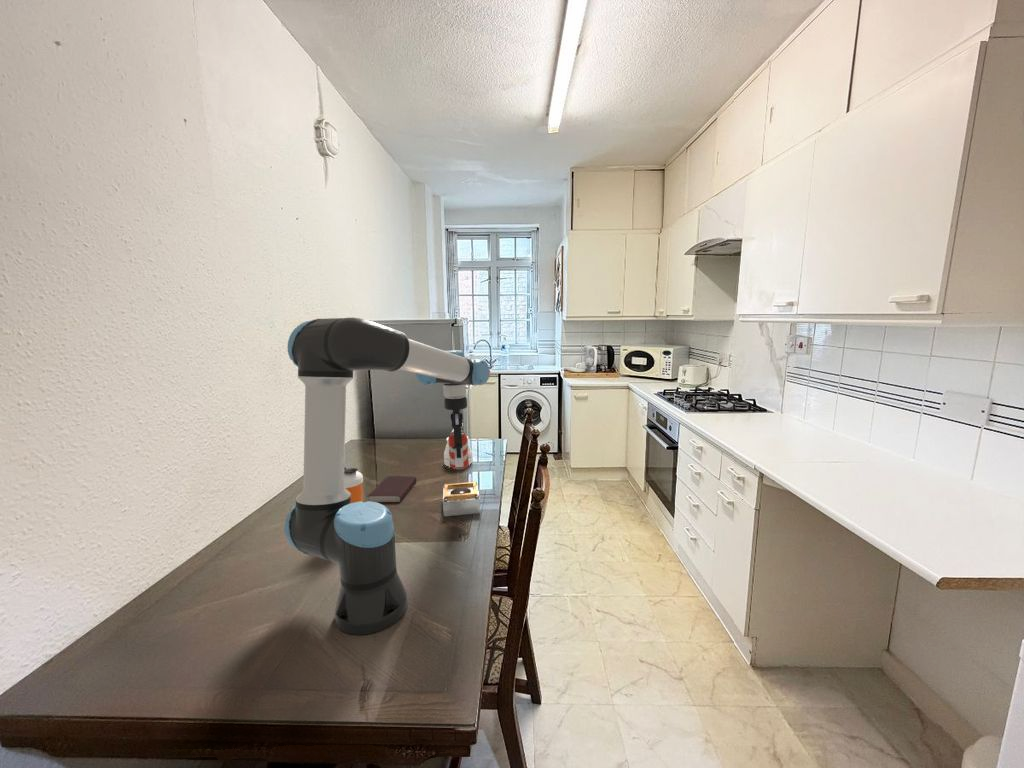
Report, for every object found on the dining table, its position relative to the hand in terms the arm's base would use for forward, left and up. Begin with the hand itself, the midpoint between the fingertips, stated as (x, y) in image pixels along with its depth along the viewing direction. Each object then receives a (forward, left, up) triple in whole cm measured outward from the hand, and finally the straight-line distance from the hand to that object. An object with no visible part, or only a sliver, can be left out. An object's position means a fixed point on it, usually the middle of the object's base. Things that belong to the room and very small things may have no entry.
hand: (459, 463), depth 144 cm
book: (+19, +26, -16) cm, 36 cm away
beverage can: (0, 0, -2) cm, 2 cm away
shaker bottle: (-11, +34, -16) cm, 39 cm away
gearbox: (0, 0, -15) cm, 15 cm away
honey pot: (+47, 0, -16) cm, 49 cm away
